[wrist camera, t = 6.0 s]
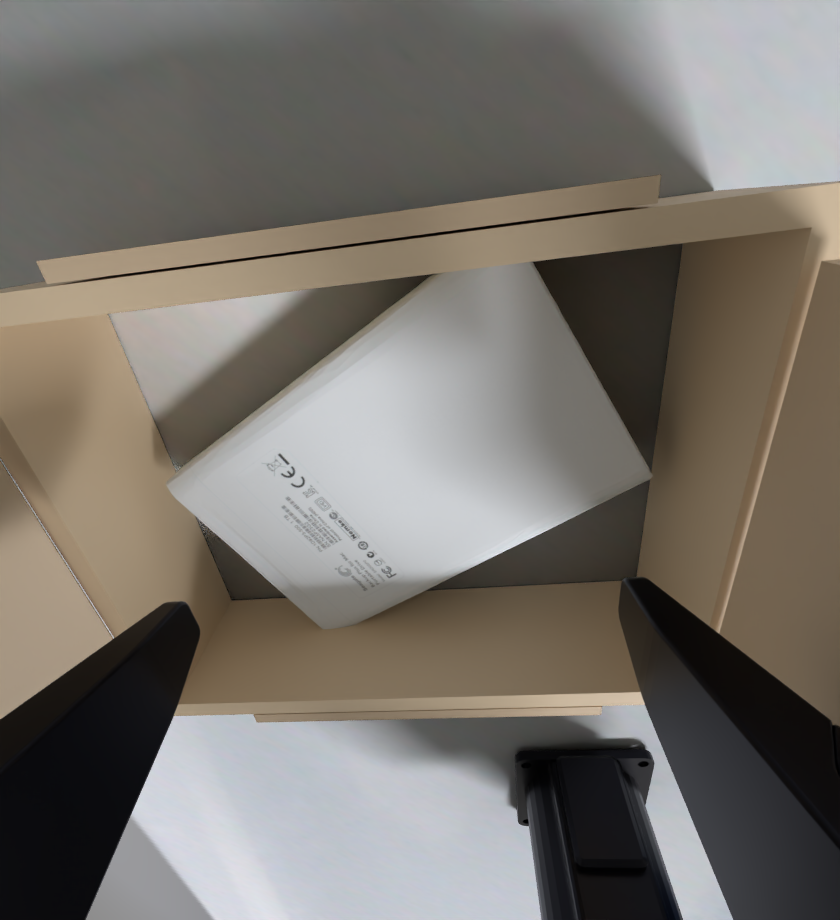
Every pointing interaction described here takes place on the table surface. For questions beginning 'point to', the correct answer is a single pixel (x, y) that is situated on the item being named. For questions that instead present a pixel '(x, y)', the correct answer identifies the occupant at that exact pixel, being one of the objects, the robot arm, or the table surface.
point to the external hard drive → (417, 449)
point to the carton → (436, 611)
